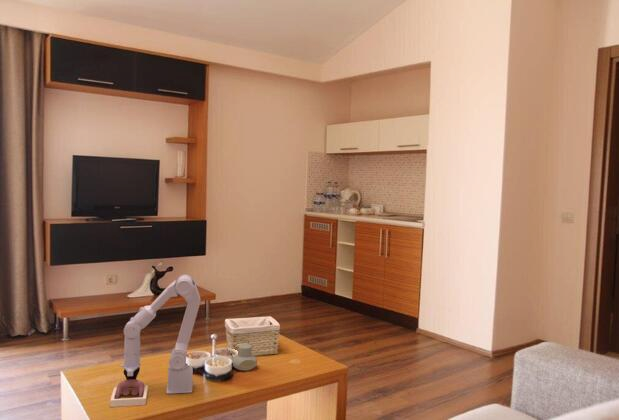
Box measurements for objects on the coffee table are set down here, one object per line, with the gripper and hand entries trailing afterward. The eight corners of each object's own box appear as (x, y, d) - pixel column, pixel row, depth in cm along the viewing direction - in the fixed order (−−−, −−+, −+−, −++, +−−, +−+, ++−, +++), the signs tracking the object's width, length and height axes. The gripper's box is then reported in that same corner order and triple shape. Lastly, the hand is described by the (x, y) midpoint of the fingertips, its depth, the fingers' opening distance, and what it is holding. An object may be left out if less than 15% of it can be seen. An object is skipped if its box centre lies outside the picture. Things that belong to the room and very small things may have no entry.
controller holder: (147, 391, 200) (147, 385, 199) (145, 404, 188) (145, 398, 188) (114, 393, 197) (114, 386, 197) (110, 407, 185) (110, 400, 185)
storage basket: (229, 359, 237) (230, 327, 237) (223, 348, 253) (223, 318, 252) (280, 355, 246) (281, 324, 245) (270, 344, 261) (271, 315, 260)
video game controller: (144, 398, 196) (145, 379, 199) (142, 398, 192) (144, 378, 194) (116, 399, 195) (118, 379, 197) (114, 399, 190) (116, 378, 193)
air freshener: (234, 373, 221) (235, 350, 221) (229, 366, 229) (230, 344, 228) (259, 370, 226) (260, 347, 225) (253, 363, 233) (254, 341, 233)
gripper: (122, 346, 204) (122, 381, 205) (118, 359, 190) (118, 396, 191) (141, 346, 206) (141, 380, 207) (139, 358, 192) (138, 395, 193)
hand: (131, 387), depth 199 cm, fingers closed
